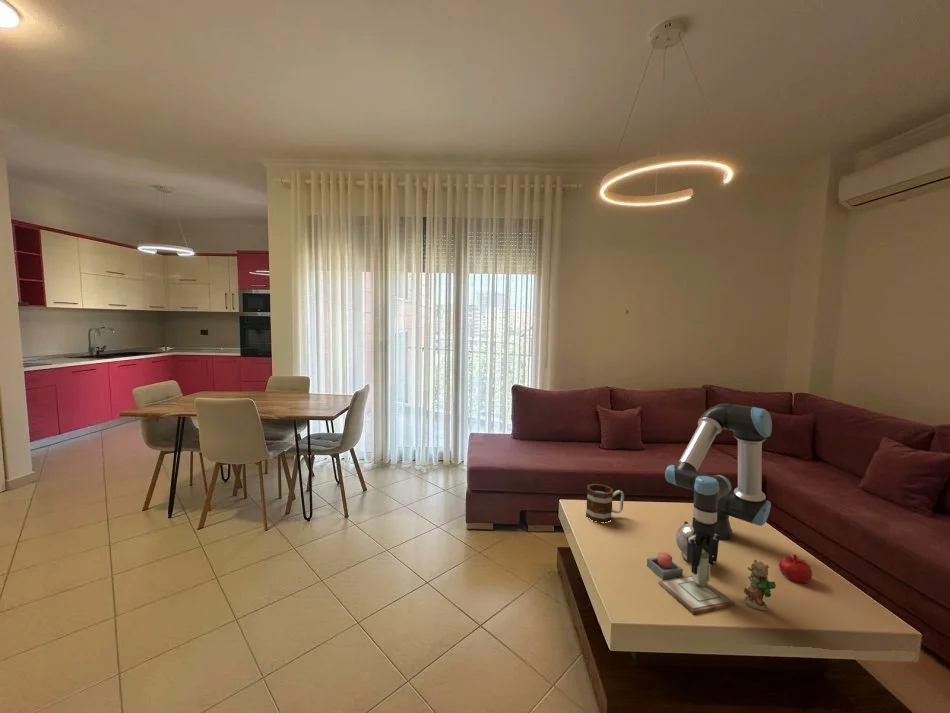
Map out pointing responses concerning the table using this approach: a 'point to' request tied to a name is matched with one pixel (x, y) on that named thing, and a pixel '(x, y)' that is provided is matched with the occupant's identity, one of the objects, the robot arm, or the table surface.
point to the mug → (601, 502)
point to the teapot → (684, 537)
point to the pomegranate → (795, 569)
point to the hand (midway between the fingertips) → (700, 580)
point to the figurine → (758, 586)
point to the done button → (664, 560)
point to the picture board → (695, 595)
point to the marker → (703, 568)
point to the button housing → (664, 574)
